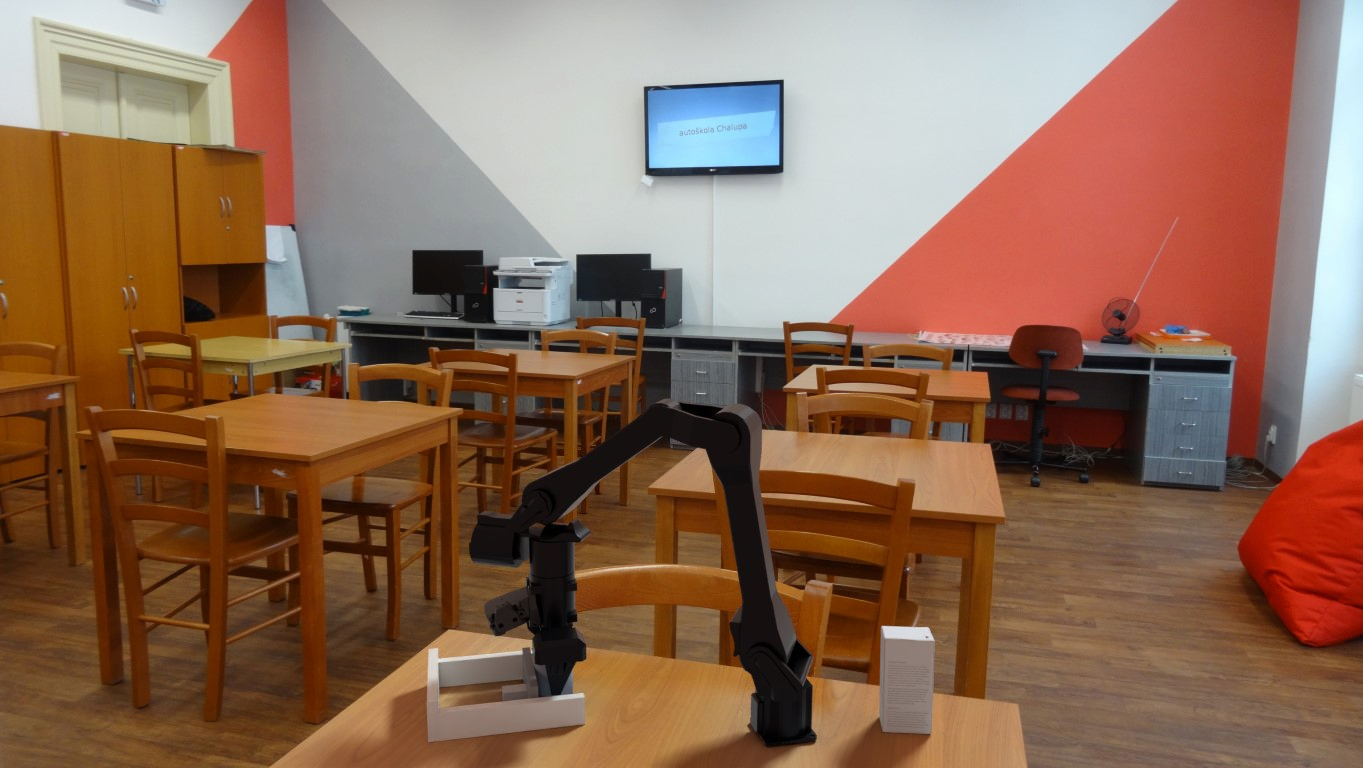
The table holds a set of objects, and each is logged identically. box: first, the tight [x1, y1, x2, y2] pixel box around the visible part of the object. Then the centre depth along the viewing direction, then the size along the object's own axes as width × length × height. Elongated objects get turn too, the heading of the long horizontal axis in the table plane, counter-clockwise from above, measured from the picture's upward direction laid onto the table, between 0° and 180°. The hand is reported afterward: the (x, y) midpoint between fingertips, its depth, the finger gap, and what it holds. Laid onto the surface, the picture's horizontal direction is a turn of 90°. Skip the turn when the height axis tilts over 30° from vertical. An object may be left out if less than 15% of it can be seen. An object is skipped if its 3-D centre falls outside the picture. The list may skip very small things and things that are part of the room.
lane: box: [426, 647, 586, 743], centre depth 122 cm, size 19×15×5 cm
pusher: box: [501, 646, 538, 702], centre depth 122 cm, size 4×12×4 cm, turn 14°
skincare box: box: [878, 625, 936, 735], centre depth 116 cm, size 6×4×12 cm
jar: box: [533, 658, 574, 698], centre depth 123 cm, size 5×5×6 cm
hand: (553, 686), depth 123 cm, fingers closed on jar, 5 cm apart
